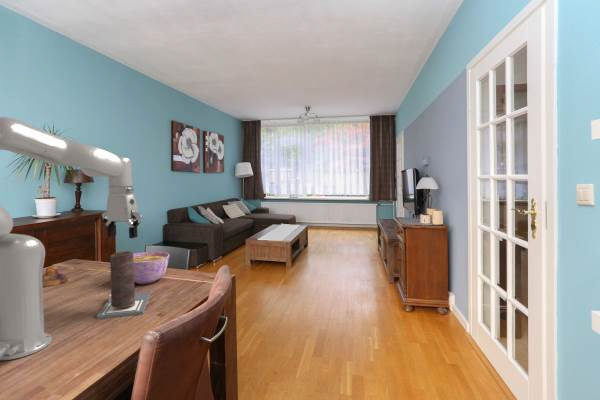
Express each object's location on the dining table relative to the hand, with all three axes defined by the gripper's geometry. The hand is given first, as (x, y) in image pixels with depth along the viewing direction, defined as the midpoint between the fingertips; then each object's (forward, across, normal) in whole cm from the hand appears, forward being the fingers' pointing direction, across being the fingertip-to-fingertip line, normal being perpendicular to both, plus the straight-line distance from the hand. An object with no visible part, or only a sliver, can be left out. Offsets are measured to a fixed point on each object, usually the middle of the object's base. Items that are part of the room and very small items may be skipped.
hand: (122, 236), depth 113 cm
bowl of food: (+26, +12, -24) cm, 38 cm away
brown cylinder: (+25, -4, +4) cm, 25 cm away
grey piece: (+26, -1, +1) cm, 26 cm away
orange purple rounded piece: (+26, +50, -10) cm, 58 cm away
